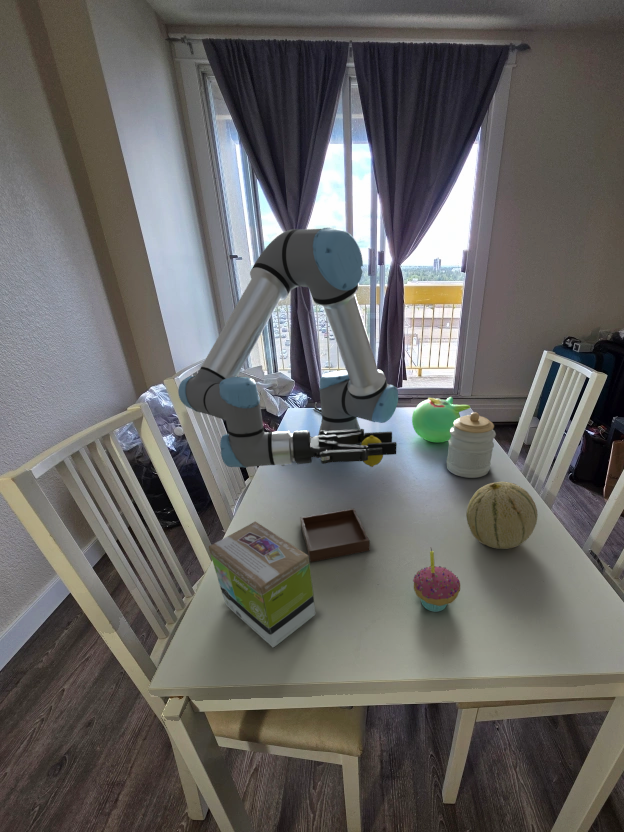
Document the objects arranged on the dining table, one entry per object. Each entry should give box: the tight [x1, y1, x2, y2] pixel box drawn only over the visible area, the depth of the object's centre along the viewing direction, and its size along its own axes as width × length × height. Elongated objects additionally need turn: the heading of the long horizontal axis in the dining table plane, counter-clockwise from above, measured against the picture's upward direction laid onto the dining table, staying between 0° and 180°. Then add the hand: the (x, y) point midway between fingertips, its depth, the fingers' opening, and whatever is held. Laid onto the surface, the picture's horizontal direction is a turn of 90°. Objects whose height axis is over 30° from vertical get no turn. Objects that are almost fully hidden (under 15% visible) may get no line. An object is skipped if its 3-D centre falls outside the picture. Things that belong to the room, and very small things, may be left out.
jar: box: [446, 411, 497, 479], centre depth 118 cm, size 13×13×18 cm
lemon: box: [360, 436, 384, 468], centre depth 96 cm, size 6×6×8 cm
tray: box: [299, 507, 371, 563], centre depth 93 cm, size 13×13×3 cm
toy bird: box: [411, 396, 471, 444], centre depth 138 cm, size 18×17×15 cm
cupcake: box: [412, 547, 461, 613], centre depth 74 cm, size 9×8×12 cm
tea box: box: [208, 521, 316, 648], centre depth 71 cm, size 15×10×15 cm, turn 49°
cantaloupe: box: [466, 481, 538, 550], centre depth 89 cm, size 15×15×15 cm
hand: (393, 442), depth 95 cm, fingers closed on lemon, 5 cm apart
